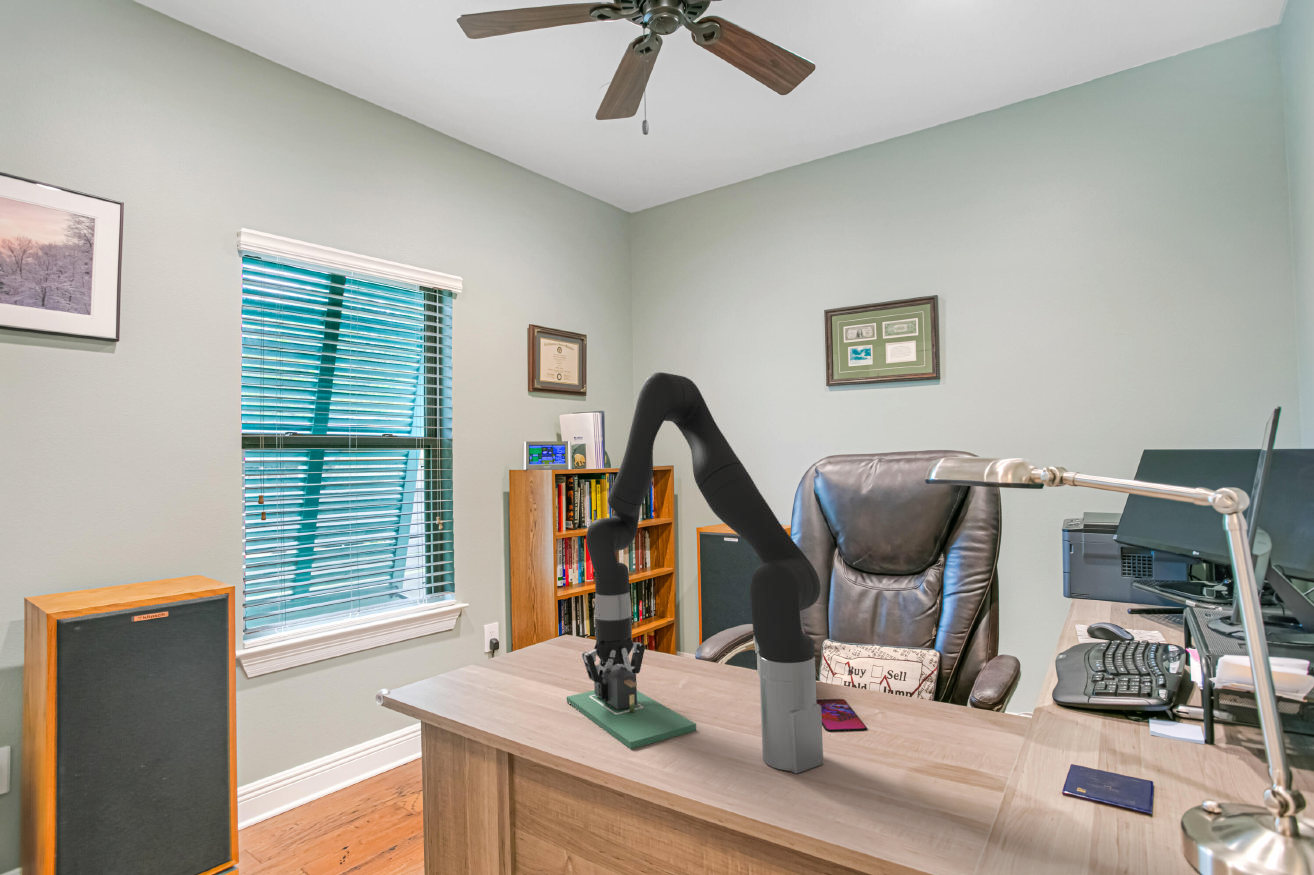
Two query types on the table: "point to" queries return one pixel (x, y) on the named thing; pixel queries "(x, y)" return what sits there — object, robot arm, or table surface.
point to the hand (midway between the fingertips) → (615, 697)
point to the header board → (633, 719)
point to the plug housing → (619, 686)
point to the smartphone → (839, 716)
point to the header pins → (631, 703)
